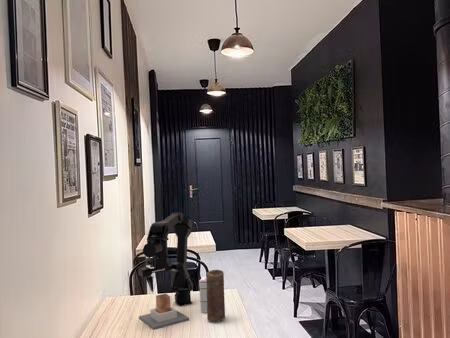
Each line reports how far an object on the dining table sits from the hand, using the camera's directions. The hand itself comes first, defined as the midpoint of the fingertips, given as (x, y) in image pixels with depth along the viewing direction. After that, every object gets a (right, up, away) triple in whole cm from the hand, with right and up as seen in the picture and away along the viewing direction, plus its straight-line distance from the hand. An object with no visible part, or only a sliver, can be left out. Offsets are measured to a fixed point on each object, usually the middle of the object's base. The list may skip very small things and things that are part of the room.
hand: (162, 289), depth 174 cm
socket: (+1, -13, 0) cm, 13 cm away
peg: (+1, -12, 0) cm, 12 cm away
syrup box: (+19, -12, +8) cm, 24 cm away
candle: (+23, -12, -4) cm, 26 cm away
